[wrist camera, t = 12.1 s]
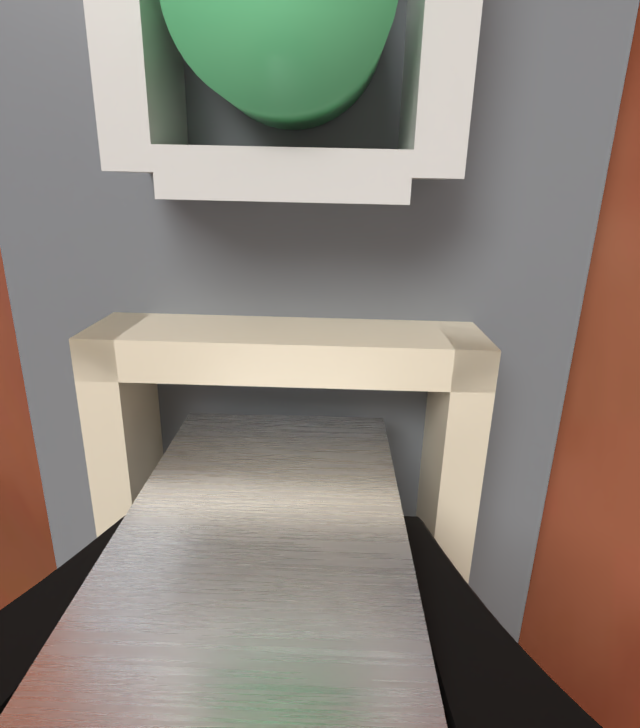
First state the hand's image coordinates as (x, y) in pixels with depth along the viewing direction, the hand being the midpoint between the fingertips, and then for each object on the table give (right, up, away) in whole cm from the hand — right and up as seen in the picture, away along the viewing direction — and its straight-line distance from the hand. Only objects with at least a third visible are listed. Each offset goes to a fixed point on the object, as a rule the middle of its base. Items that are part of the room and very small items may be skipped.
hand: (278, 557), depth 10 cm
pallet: (0, +5, +3) cm, 6 cm away
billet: (0, +1, +2) cm, 2 cm away
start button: (0, +9, 0) cm, 9 cm away
